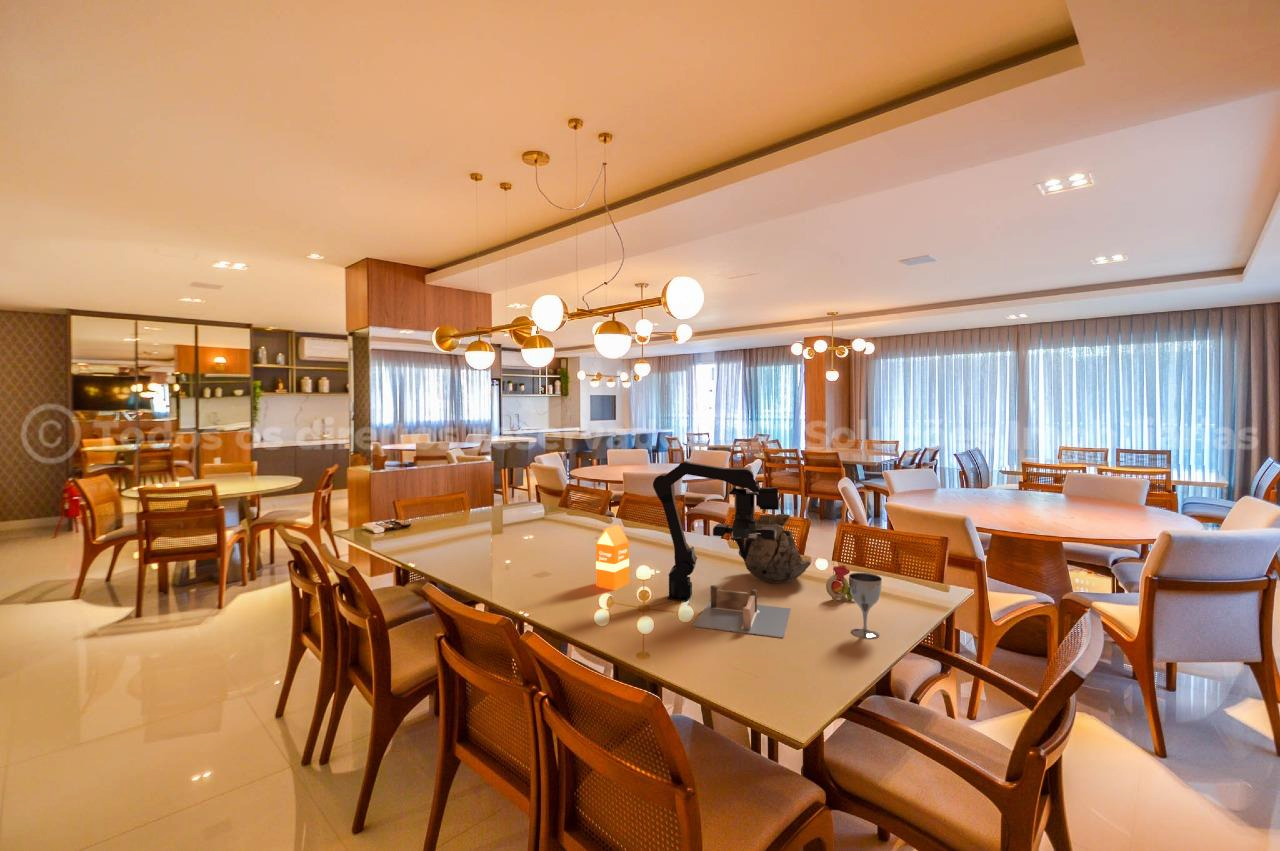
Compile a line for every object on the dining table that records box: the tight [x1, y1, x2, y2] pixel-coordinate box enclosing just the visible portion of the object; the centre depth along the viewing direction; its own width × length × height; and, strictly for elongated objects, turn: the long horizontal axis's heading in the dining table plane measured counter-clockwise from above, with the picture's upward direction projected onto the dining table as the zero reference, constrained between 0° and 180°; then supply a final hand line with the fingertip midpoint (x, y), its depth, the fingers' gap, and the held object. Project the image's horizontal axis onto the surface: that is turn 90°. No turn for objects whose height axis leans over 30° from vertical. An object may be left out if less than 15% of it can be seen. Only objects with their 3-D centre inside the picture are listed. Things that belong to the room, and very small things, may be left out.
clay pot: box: [738, 513, 812, 584], centre depth 194 cm, size 25×24×22 cm
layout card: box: [692, 599, 791, 639], centre depth 159 cm, size 24×22×1 cm
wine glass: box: [848, 572, 882, 640], centre depth 147 cm, size 8×8×15 cm
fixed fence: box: [710, 585, 758, 612], centre depth 165 cm, size 14×2×6 cm, turn 70°
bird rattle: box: [825, 565, 854, 601], centre depth 173 cm, size 6×11×9 cm
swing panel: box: [743, 595, 755, 629], centre depth 155 cm, size 13×2×5 cm, turn 162°
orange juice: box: [595, 524, 630, 591], centre depth 190 cm, size 8×9×20 cm
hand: (744, 559), depth 172 cm, fingers closed
